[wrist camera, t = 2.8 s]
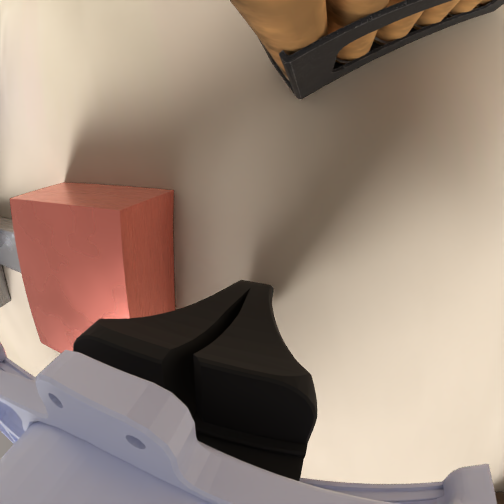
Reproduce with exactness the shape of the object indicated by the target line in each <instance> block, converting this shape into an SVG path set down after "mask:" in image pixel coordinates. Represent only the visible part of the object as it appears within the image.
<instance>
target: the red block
mask: <svg viewBox="0 0 504 504" xmlns="http://www.w3.org/2000/svg"><path fill="white" fill-rule="evenodd" d="M173 200H174V190H167V189H155V188H143V187H131V186H117V185H102V184H84V183H60V184H56V185H53V186H49V187H46V188H42V189H39V190H35V191H32V192H29V193H25V194H22V195H19V196H16V197H13V198H10V206H11V215H12V222H13V230H14V236H15V242H16V248H17V254H18V259H19V264H20V269H21V273H22V278H23V282H24V286H25V290H26V294H27V298H28V302H29V305H30V309H31V312H32V316H33V319H34V322H35V326H36V329H37V332H38V335H39V338H40V341H41V343H43V344H45V345H46V346H48V347H50V348H52V349H54V350H56V351H58V352H60V353H62V352H63V351H64V350H69V351H73V344H74V342H75V340H76V339H77V338H78V337H79V336H80V335H81V334H82V333H83V332H85V331H86V330H87V329H88V328H89V327H90V326H91V325H93V324H94V323H95V322H96V321H97V320H99V319H125V318H137V317H145V316H152V315H157V314H161V313H166V312H170V311H174V310H175V289H174V251H173Z"/></svg>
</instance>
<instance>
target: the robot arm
mask: <svg viewBox="0 0 504 504" xmlns="http://www.w3.org/2000/svg"><path fill="white" fill-rule="evenodd" d="M273 289H274V288H273V287H272V286H271V285H266V284H261V283H255V282H250V281H244V280H240V281H238V282H236V283H235V284H233V285H231V286H229V287H227V288H226V289H224V290H222V291H220V292H218V293H216V294H214V295H212V296H210V297H208V298H206V299H204V300H201V301H199V302H197V303H195V304H192V305H190V306H187V307H184V308H181V309H178V310H174V311H170V312H166V313H161V314H157V315H152V316H145V317H137V318H125V319H99V320H97V321H96V322H95V323H94V324H93V325H91V326H90V327H89V328H88V329H87V330H86V331H85V332H83V333H82V334H81V335H80V336H79V337H78V338H77V339H76V340H75V342H74V344H73V351H69V350H64V351H63V352H62V353H61V354H60V355H59V356H58V357H57V358H55V359H54V360H53V361H52V362H51V363H50V364H49V365H48V366H47V367H46V368H44V369H43V370H42V371H41V372H40V373H39V374H38V375H37V376H36V378H35V377H34V376H32V375H31V374H29V373H28V372H27V371H25V370H24V369H22V368H21V367H19V366H18V365H16V364H15V363H14V362H12V361H11V360H10V359H8V358H7V356H6V353H5V350H4V348H3V346H2V344H1V343H0V431H1V432H2V433H3V434H4V435H5V436H6V437H7V438H8V439H9V440H10V441H11V442H12V443H14V444H13V446H12V447H11V448H10V449H9V450H8V451H7V452H6V453H5V454H4V456H3V457H2V458H1V459H0V504H497V501H496V496H495V491H494V486H493V481H492V477H491V472H490V468H489V464H482V465H475V466H467V467H462V468H458V469H456V470H454V471H453V472H451V473H450V474H449V475H448V476H447V477H446V478H445V480H444V481H442V482H431V483H415V484H362V483H345V482H333V481H323V480H314V479H307V478H300V476H301V470H302V465H303V459H304V457H305V454H306V449H307V443H308V441H309V438H310V436H311V433H312V431H313V428H314V426H315V423H316V419H317V400H316V393H315V388H314V384H313V380H312V376H311V374H310V373H309V372H308V371H307V370H306V369H305V368H304V367H302V366H301V365H300V364H299V363H298V362H297V361H296V359H295V358H294V357H293V355H292V354H291V352H290V351H289V349H288V348H287V346H286V345H285V343H284V341H283V339H282V337H281V335H280V332H279V330H278V327H277V325H276V321H275V318H274V314H273V308H272V297H273Z"/></svg>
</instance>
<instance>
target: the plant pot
mask: <svg viewBox="0 0 504 504" xmlns="http://www.w3.org/2000/svg"><path fill="white" fill-rule="evenodd" d="M495 496H496V501H497V504H504V493H503V492H496V493H495Z"/></svg>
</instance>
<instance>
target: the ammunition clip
mask: <svg viewBox="0 0 504 504" xmlns="http://www.w3.org/2000/svg"><path fill="white" fill-rule="evenodd" d="M230 1H231V2H232V4H233V5H234V6H235V7H236V9H237V10H238V11H239V12H240V14H241V15H242V16H243V18H244V19H245V20H246V22H247V23H248V24H249V26H250V27H251V28H252V30H253V31H254V32H255V34H256V35H257V36H258V38H259V40H260V42H261V44H262V45H263V47H264V49H265V51H266V53H267V54H268V56H269V58H270V60H271V62H272V64H273V65H274V67H275V68H276V69H277V71H278V72H279V73H280V75H281V76H282V77H283V79H284V80H285V81H286V83H287V84H288V86H289V87H290V88H291V90H292V91H293V93H294V94H295V96H296V97H297V98H298V99H303V98H304V97H306V96H308V95H309V94H311V93H313V92H315V91H316V90H318V89H320V88H322V87H323V86H325V85H327V84H329V83H330V82H332V81H334V80H336V79H338V78H340V77H341V76H343V75H345V74H347V73H349V72H351V71H353V70H355V69H357V68H359V67H360V66H362V65H364V64H366V63H368V62H370V61H372V60H374V59H376V58H378V57H381V56H383V55H385V54H387V53H389V52H391V51H393V50H395V49H397V48H400V47H402V46H404V45H406V44H408V43H411V42H413V41H415V40H418V39H420V38H422V37H425V36H427V35H429V34H432V33H434V32H437V31H439V30H442V29H444V28H447V27H449V26H452V25H455V24H457V23H460V22H463V21H466V20H468V19H471V18H474V17H477V16H480V15H483V14H486V13H489V12H492V11H495V10H496V9H497V8H499V7H500V6H501V5H503V4H504V0H230Z"/></svg>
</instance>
